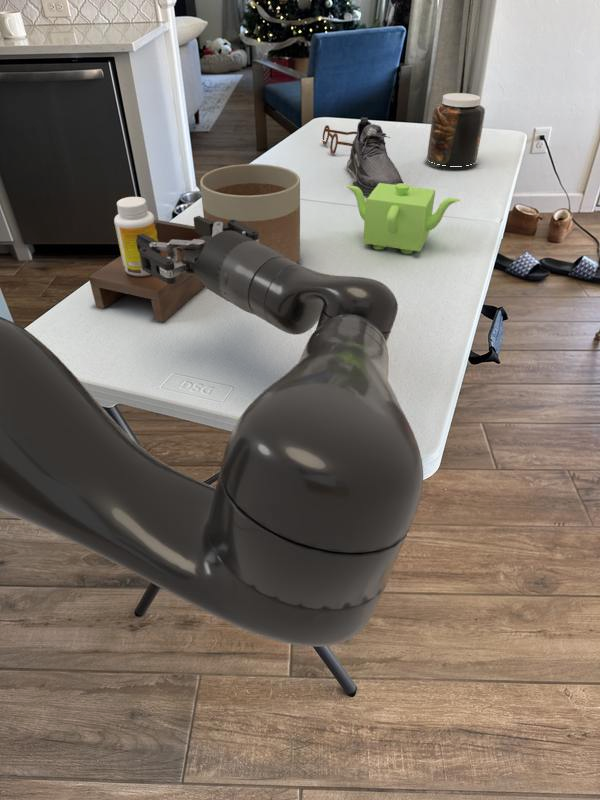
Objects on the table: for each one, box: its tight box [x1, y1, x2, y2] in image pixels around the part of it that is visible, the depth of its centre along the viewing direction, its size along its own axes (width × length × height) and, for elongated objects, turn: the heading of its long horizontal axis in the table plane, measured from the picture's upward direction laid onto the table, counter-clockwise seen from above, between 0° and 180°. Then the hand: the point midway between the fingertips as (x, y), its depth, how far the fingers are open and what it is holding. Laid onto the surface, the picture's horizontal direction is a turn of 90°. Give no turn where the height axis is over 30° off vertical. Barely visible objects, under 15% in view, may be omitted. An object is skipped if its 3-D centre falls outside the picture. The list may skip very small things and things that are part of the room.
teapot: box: [345, 182, 461, 255], centre depth 102 cm, size 15×13×11 cm
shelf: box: [88, 219, 206, 323], centre depth 88 cm, size 14×12×9 cm
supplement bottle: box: [113, 196, 158, 276], centre depth 83 cm, size 6×6×10 cm
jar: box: [426, 92, 486, 171], centre depth 138 cm, size 12×12×15 cm
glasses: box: [322, 124, 357, 155], centre depth 152 cm, size 13×13×5 cm
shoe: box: [346, 117, 404, 196], centre depth 128 cm, size 10×27×12 cm, turn 8°
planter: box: [199, 163, 301, 264], centre depth 96 cm, size 16×16×14 cm
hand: (169, 232), depth 75 cm, fingers open, 8 cm apart
